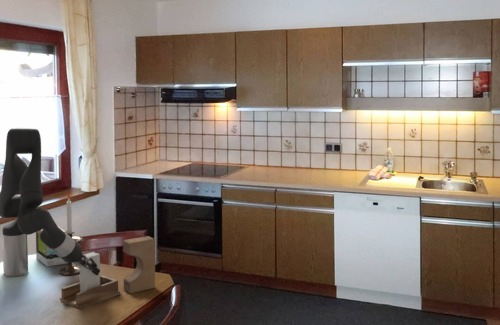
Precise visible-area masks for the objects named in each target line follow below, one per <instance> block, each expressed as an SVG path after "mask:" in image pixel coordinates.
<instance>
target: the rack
mask: <svg viewBox="0 0 500 325" xmlns="http://www.w3.org/2000/svg"><path fill="white" fill-rule="evenodd" d="M119 295H121V290H119V280H118V279H114V278H111V277H108V276H106V275H103V274H100V286H97V287H94V288H91V289H88V290H85V291H83V292H80V281H79V282H76V283H72V284H70V285H67V286H64V287H61V297H59V301H60V302H62V303H65V304H67V305H70V306H72V307H75V308H77V309H79V310H81V309H84V308H87V307H89V306H92V305H94V304H98V303H99V302H103V301H105V300H108V299H110V298H113V297H116V296H119Z"/></svg>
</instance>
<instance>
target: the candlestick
mask: <svg viewBox="0 0 500 325" xmlns="http://www.w3.org/2000/svg"><path fill="white" fill-rule="evenodd" d="M71 192H72V191H71V190H70V191H69V193H68V196H67V201H66V228H67V230H66V231H67V232H66V234H67V235H69V236H70V237H71V238H72V239H73V240H75V241H76V242H77V243H78V244H79V245H80V244H82V243H83V242H84V237H83V236H81V235H74V234H75V232H74V231H73V223H72V222H73V221H72V220H73V218H72V212H73V211H72V201H71V198H70V197H71ZM58 271H59V275H60V274H61V276H65V277H68V276H69V277H71V276H76V275H80V266H73V263H68V266H67V267H66V266H65V267H63V268H60V269H59V270H58Z"/></svg>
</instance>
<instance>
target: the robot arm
mask: <svg viewBox="0 0 500 325" xmlns="http://www.w3.org/2000/svg"><path fill="white" fill-rule="evenodd" d="M41 138H42V137H41V134H40V131H39V129H37V128H33V127H13V128H10V129H9V130H8V132H7V134H6V141H5V143H6V144H5V160H4V166H3V170H2V179H1V189H0V217H1V218H2V219H9V218H10V219H11V218H16V219H15V220H13V221H12V222H10V223H8V224H6V225H5V226H3V227H2V246H3V249H2V250H3V251H2V265H3V273H4V276H6V277H20V276H23V275H26V274H28V273H29V254H28V252H29V250H28V235H33V234H36V232H37V231H40V230H42V229H43V230H42V231H41V233H40V239H41V241H42V242H43V243H44V244H45V245H47V246H48V247H49V248H50V249H51V250H52V251H53V252H54V253H55V254H56V255H58V256H59V257H60V258H61V259H63V260H64V261H65V262H67V263H66V264H69V263H72V264H74V265H75V267H80V265H81V266H82V267H84V268H88V269H89V270H90V271H92V272H93V273H94V274H95V275H98V274H99V272H100V273H101V269H100V270H99V269H98V268H97V264H96V263H95V262H94V261H93V259H92V258H90V259H89V258H87V257H86V255H85V254H86V253H85V254H84V253H82V252H83V248H82V246H81V245H80V243H79V244H78V243H77V242H76V241H75V240H73V239H72V238H71V237H70V236H69V235H67V234H66V233H64V232H63V231H62V230H61V229H60V228H59V227H60V226H59V225H58V224H57V223H56V222H55V220H54V218H53V216H52V215H51V213H50V211H49V210H47V209H45V208H41V207H40V206H41V205H42V204H43V202H44V195H43V187H42V186H43V185H42V139H41ZM18 154H19V155H22V154H23V155H26V154H27V155H29V154H31V159H30V162H29V164H27V163H26V162H25V161H24V160H23V159H22V157H20V156H19V155H18ZM58 226H59V227H58ZM85 264H86V265H85ZM84 265H85V266H84Z"/></svg>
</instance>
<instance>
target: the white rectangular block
mask: <svg viewBox="0 0 500 325" xmlns="http://www.w3.org/2000/svg"><path fill="white" fill-rule="evenodd" d="M85 255H86V257H87V258H89V259H90V258H92V259H93V261H94V262H95V263H96V264H97V268H98V269H99V270H100V272H99V274H98V275H95V274H94V273H93V272H92V271H90V270H89V269H88V268H84V267H82V266H81V265H80V266H79V267H80V274H79V282H80V292H83V291H85V290H88V289H91V288H94V287H97V286H100V275H101V258H100V256H101V254H100V253H97V252H94V251H93V252H89V253H85ZM85 265H86V264H85ZM85 265H84V266H85Z"/></svg>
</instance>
